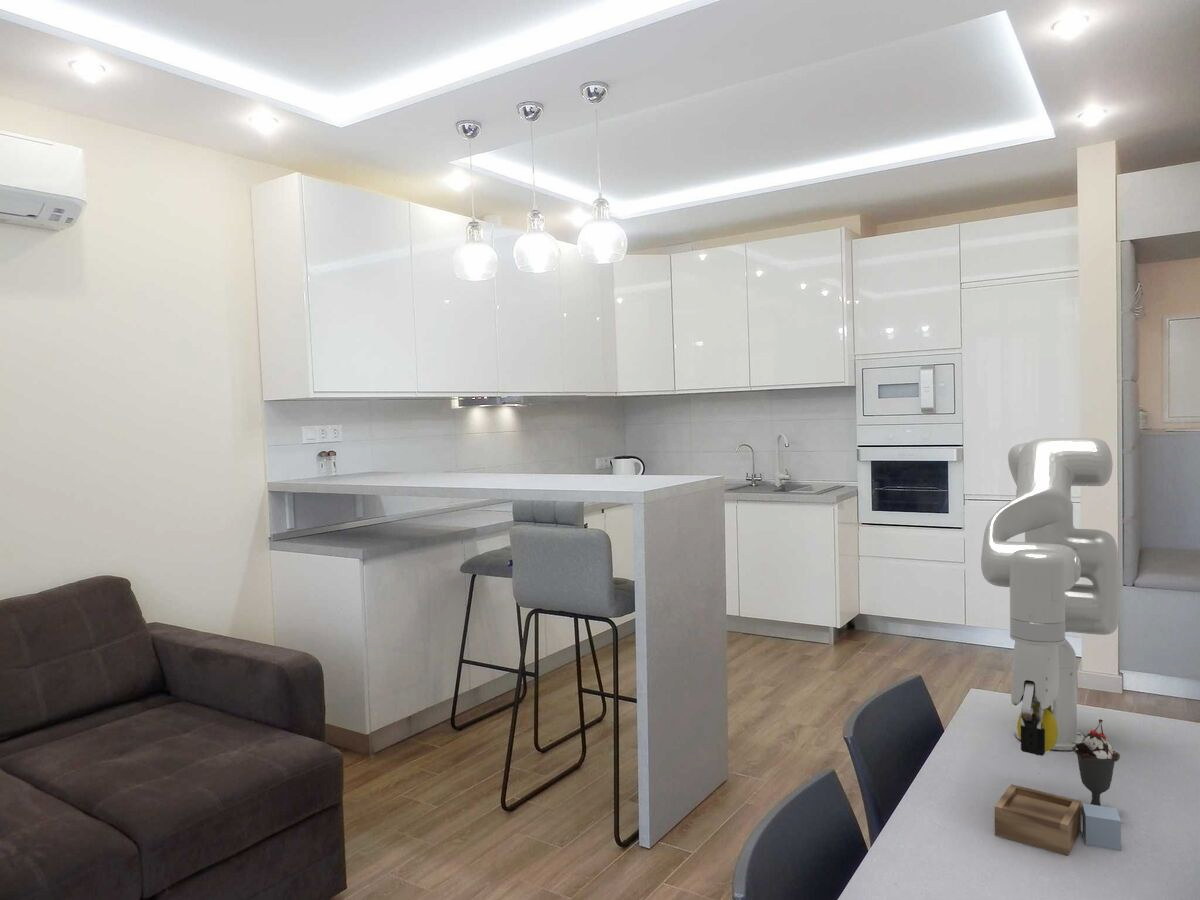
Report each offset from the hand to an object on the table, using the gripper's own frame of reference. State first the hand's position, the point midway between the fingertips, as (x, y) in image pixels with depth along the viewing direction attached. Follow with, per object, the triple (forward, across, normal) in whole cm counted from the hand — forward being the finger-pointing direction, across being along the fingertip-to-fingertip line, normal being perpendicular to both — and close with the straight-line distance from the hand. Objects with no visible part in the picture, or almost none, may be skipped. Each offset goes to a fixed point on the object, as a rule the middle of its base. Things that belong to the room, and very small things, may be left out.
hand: (1037, 745), depth 127 cm
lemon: (+2, 0, 0) cm, 2 cm away
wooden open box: (+14, 0, 0) cm, 14 cm away
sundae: (+14, -13, +6) cm, 20 cm away
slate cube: (+14, -3, +8) cm, 16 cm away
